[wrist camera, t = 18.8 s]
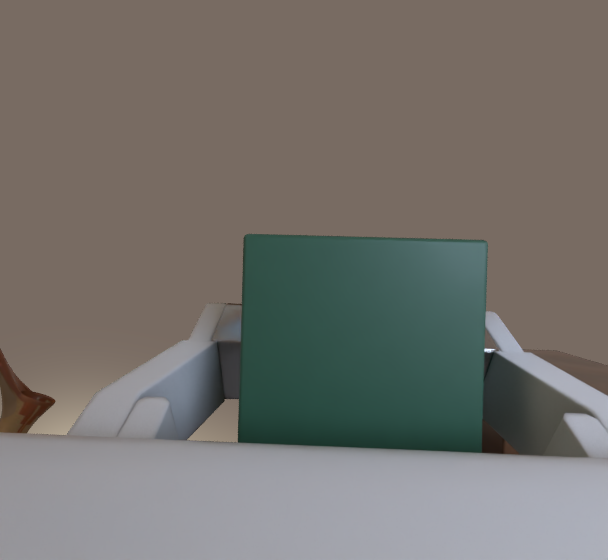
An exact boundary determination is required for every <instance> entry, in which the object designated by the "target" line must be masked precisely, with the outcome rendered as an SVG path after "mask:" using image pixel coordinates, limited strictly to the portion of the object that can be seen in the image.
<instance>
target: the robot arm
mask: <svg viewBox="0 0 608 560" xmlns="http://www.w3.org/2000/svg"><path fill="white" fill-rule="evenodd" d="M241 316H242V304H226V303H208V304H206V305H205V307H204V309H203V311H202V313H201V315H200V317H199V319H198V321H197V323H196V326H195V327H194V329H193V331H192V333H191V335H190V337H189V339H188V340H182V341H180V342H179V343H177V344H176V345H174V346H172V347H171V348H169V349H167V350H166V351H164V352H162V353H161V354H159V355H157V356H156V357H154V358H152V359H151V360H149V361H147V362H146V363H144V364H143V365H141V366H139V367H138V368H136V369H134V370H133V371H131V372H129V373H128V374H126V375H124V376H123V377H121V378H119V379H118V380H116V381H114V382H113V383H111V384H109V385H108V386H106V387H104V388H103V389H101V390H99V391H98V392H96V393H95V395H94V396H93V398H92V399H91V400H90V402H89V403H88V405H87V406H86V408H85V409H84V410H83V412H82V413H81V415H80V416H79V418H78V419H77V421H76V422H75V424H74V425H73V426H72V428H71V429H70V431H69V432H68V433H67V435H48V434H26V433H3V432H0V560H608V396H607V395H605V394H603V393H602V392H600V391H598V390H596V389H594V388H593V387H591V386H589V385H587V384H586V383H584V382H582V381H580V380H578V379H577V378H575V377H573V376H571V375H570V374H568V373H566V372H564V371H563V370H561V369H559V368H557V367H555V366H554V365H552V364H550V363H548V362H547V361H545V360H543V359H541V358H540V357H538V356H536V355H534V354H532V353H531V352H524V351H523V350H522V349H521V347H520V346H519V344H518V343H517V342H516V340H515V339H514V338H513V336H512V335H511V333H510V332H509V330H508V329H507V328H506V326H505V325H504V324H503V322H502V321H501V320H500V318H499V317H498V315H497V314H496V313H494V312H486V319H485V353H484V387H483V419H484V420H485V421H486V422H487V423H488V424H489V425H490V426H491V427H492V428H493V429H494V430H495V431H496V432H497V433H498V434H499V435H500V436H501V437H502V438H503V439H504V440H505V441H507V442H508V443H509V444H510V445H511V446H512V447H513V448H514V449H515V450H516V451H517V452H518V453H519V454H520V455H516V454H494V453H472V452H450V451H427V450H403V449H379V448H356V447H332V446H308V445H284V444H260V443H236V442H234V443H233V442H213V441H190V440H187V439H188V438H189V437H190V436H191V435H192V434H193V433H194V432H195V431H196V430H197V429H198V428H199V427H200V426H201V425H202V424H203V423H204V422H205V420H206V419H207V418H208V417H209V416H210V415H211V414H212V413H213V412H214V411H215V410H216V409H217V408H218V407H219V406H220V405H221V404H222V403H223V402H224V399H239V384H240V350H241Z"/></svg>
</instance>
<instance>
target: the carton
mask: <svg viewBox="0 0 608 560" xmlns="http://www.w3.org/2000/svg"><path fill="white" fill-rule="evenodd" d="M487 252H488V244H487V242H486V241H484V240H462V239H422V238H385V237H384V238H382V237H344V236H307V235H268V234H247V235H245V237H244V248H243V282H242V316H241V350H240V384H239V420H238V443H260V444H284V445H308V446H332V447H356V448H379V449H403V450H427V451H450V452H472V453H482V420H483V387H484V353H485V319H486V285H487V284H486V283H487Z"/></svg>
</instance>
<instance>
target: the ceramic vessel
mask: <svg viewBox="0 0 608 560" xmlns="http://www.w3.org/2000/svg"><path fill="white" fill-rule="evenodd" d="M0 388H1V394H2V415H1V418H0V432H3V433H26V434H27V432H28V430H29V429H30V428H31V426H32V425H33V424H34V423H35V422H36V421H37V419H38V418H39V417H40V416H41V415H42V414H44V413H45V412H46V411H47V410H48V409H49V408H50V407H51V406H52V405H53V404H54V403H55V400H54V399H53V398H51V397H49V396H46V395H43V394H40V393H36V392H32V391H31V390H30V389H29V388H28V387H27V386H26V385H25V384H24V383H22V381H20V380H19V378H18V377H17V376H16V375H15V373H14V372H13V370H12V369H11V367H10V366H9V364H8V362H7V361H6V359H5V357H4V355H3V353H2V351H1V349H0Z"/></svg>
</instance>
